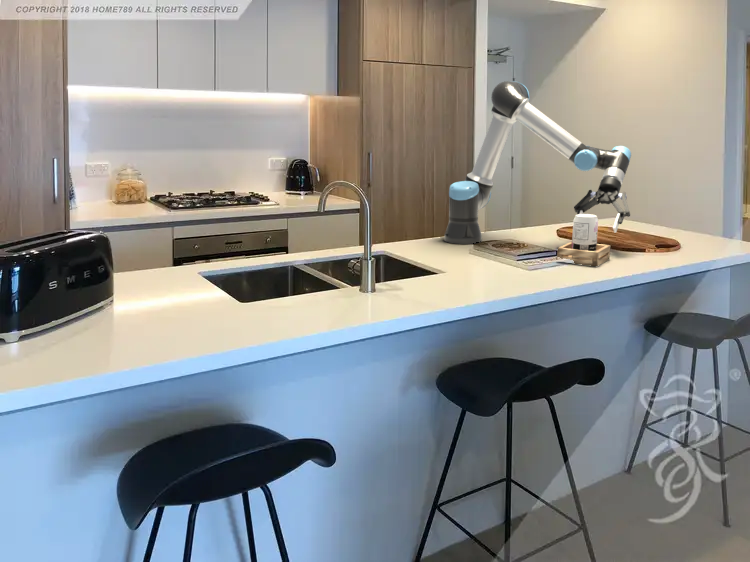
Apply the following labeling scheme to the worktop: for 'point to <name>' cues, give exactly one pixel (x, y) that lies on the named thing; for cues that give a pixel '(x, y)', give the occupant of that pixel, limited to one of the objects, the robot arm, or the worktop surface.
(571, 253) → the crate
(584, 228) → the supplement can
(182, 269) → the worktop surface
